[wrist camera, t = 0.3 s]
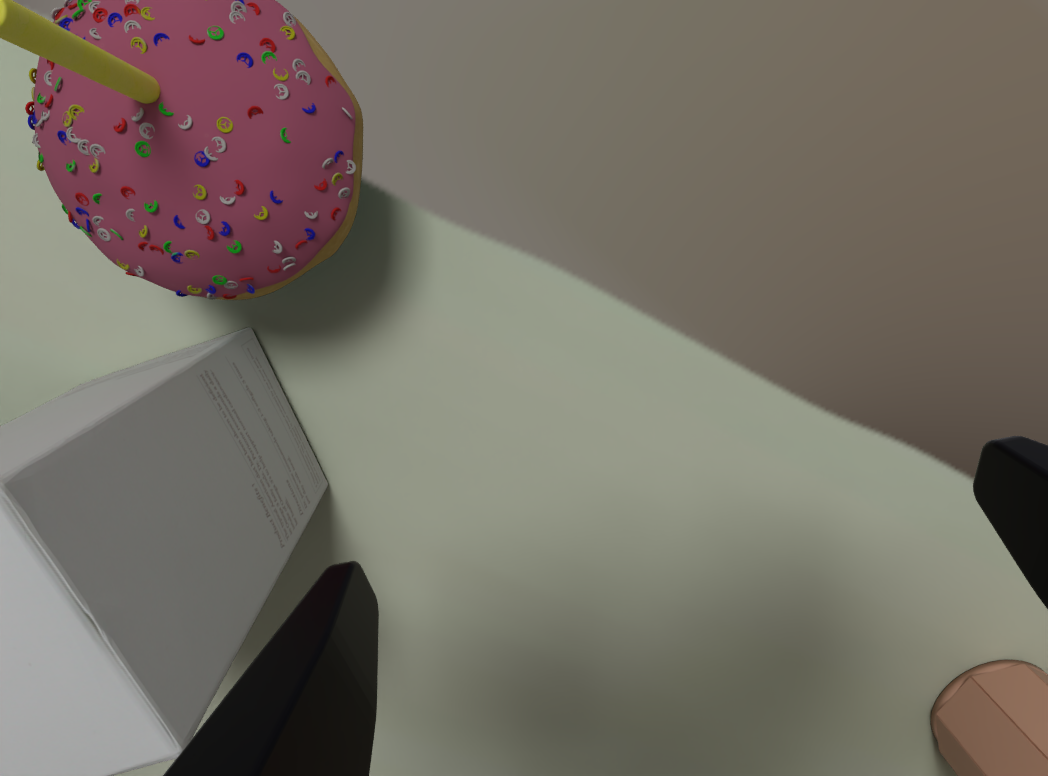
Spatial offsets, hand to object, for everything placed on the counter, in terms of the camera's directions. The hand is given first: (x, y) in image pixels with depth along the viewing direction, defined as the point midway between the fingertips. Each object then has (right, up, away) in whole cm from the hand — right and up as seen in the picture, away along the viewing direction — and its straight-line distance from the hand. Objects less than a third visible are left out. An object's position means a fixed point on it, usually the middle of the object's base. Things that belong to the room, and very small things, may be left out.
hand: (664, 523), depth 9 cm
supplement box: (-14, 0, +16) cm, 21 cm away
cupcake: (-11, +10, +13) cm, 19 cm away
